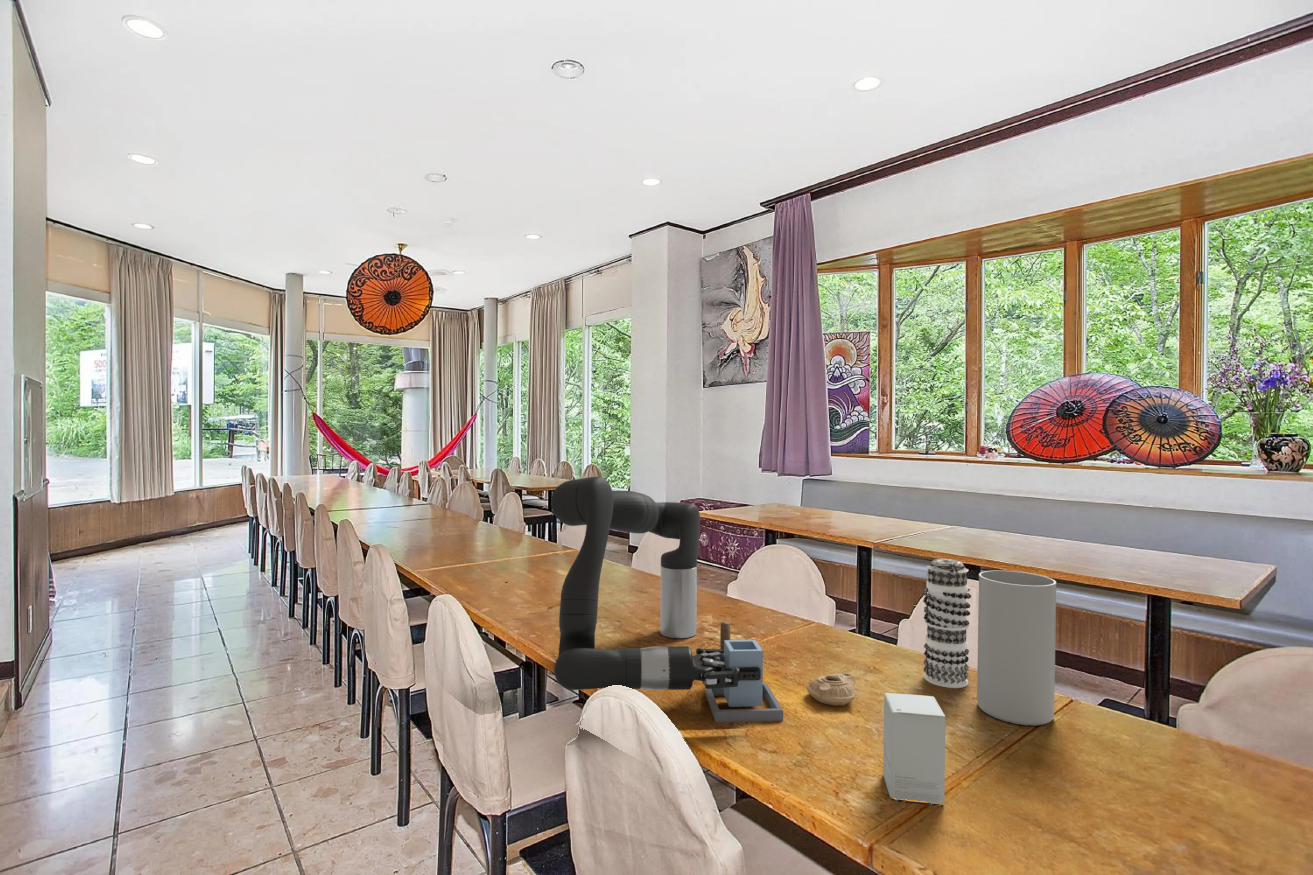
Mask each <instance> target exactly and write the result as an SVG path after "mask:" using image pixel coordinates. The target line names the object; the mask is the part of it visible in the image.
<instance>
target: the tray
mask: <svg viewBox="0 0 1313 875" xmlns="http://www.w3.org/2000/svg"><path fill="white" fill-rule="evenodd" d="M704 693H705V697H706V699H707V702H708V705H709V708H710V710H711V714H712V717H713V719H714V722H715V723H741V722H742V723H743V722H745V723H746V722H781V721H782V722H784V709H783V707H782V706H781V704H780V703H779V701H778V699H777V697H776V695H775V694H774V693H773V691H772V690H771V687H770V686H769V685H768V683H764V682H763V690H762V696H763V697H765V700H766V701H767V704H768V705H769V706H770V708H743V709H742V708H741V709H740V708H738V709H736V708H735V709H733V708H732V709H720V708H719V705H718V702H717V700H716V698H715V696H719V697H720V696H723V697H725V695H724V688H714V689H707V688H705V692H704Z"/></svg>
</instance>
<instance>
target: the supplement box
mask: <svg viewBox="0 0 1313 875" xmlns="http://www.w3.org/2000/svg"><path fill="white" fill-rule="evenodd" d="M883 695H884V696H883V697H884V698H883V755H882V756H883V759H882V760H883V761H882V765H883V766H882V775H883V779H884V782H885V784H886V785H885V786H886V789H887V791H888V795H889V798H890V797H891V798H896V799H904V800H905V799H907V800H917V801H926V802H928V803H931V804H930V805H932V804H944V805H945V792H946V789H945V788H946V787H945V784H946V782H945V781H946V779H945V778H946V715H945V713H944V712H943V710H942V708H941V707H940V705H939V703H938V701H937V699H936V698H935V696H931V695H923V694H922V695H921V694H920V695H919V694H911V693H910V694H908V693H894V692H893V693H891V692H884V694H883Z"/></svg>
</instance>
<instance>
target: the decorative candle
mask: <svg viewBox="0 0 1313 875" xmlns="http://www.w3.org/2000/svg"><path fill="white" fill-rule="evenodd" d="M925 567H926V568H927V579H926V588H925V589H923V596H924V597H923V600H922V601H923V603H924V604H925V606H924V607H923V608H924V609H923V613H924V616H923V619H924V623H925V624H926V626H927V627H926V633H927V634H926V636H925V643H924V645H923V648H924V649H925V650H924V652H923V655H924V656H925V657H924V659H923V664H924V667H923V672H924V675H923V678H924V680H925V681H926V682H928V683H930V684H931V685H935V686H939V687H941V688H942V687H943V688H946V689H949V688H950V689H960V688H962V689H963V688H965V687H967V686H968V685H969V680H968V678H969V672H968V671H969V668H970V666H969V664H967V663H968V662H969V656H968V655H969V652H970V650H969V649H968V640H967V630H969V627H970V621H969V620H967V619H966V618H967V617H968V616H970V615H971V612H970V611H969V610H967V609H970V608H971V604H970V603H969V602H968V601H967V600H969V599H972V595H971V594H970V593H969V592H970V591H971V589H970V588H969V584H968V572H969V568H966V567H965V565H964V563H963V562H962V561H961V560H960V561H959V560H956V559H951V558H936V559H933V560H932V561H931V562H930V564H928V565H926V566H925Z"/></svg>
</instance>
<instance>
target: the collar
mask: <svg viewBox="0 0 1313 875" xmlns="http://www.w3.org/2000/svg"><path fill="white" fill-rule="evenodd" d="M724 662H726V663H727V664H728V665H729V666H730V667H739V668H740V667H759V668H760V670H761V678H760V680H747V681H740V682H739V683H738V686H737V687H727V688H724V695H725V696H724V698H725V700H726V702H727V705H728V707H729V708H730V707H732V708H733V707H740V708H742V707H763V695H762V690H763V683H764V682H763V681H764V680H763V677H764V676H763V675H764V673H763V672H764V671H763V670H764V650H763V649H762V646H760V644H759V643H758V641H757V640H756V639H730V640H724ZM729 677H731V676H729ZM726 682H728V681H726Z"/></svg>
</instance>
